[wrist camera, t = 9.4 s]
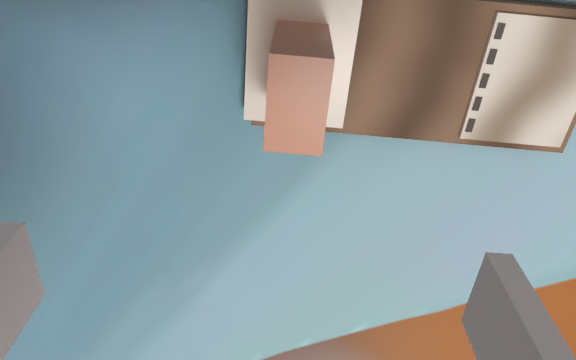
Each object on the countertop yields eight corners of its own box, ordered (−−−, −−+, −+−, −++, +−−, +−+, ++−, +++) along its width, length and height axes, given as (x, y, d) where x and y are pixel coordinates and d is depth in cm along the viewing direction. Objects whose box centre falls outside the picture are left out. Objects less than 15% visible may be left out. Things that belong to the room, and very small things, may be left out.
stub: (244, 117, 31) (228, 173, 24) (249, -12, 27) (231, 15, 20) (342, 126, 31) (351, 184, 24) (362, -1, 27) (379, 29, 20)
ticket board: (253, 117, 32) (250, 127, 31) (260, -24, 27) (257, -20, 26) (554, 144, 32) (565, 155, 31) (611, 9, 28) (627, 15, 26)
